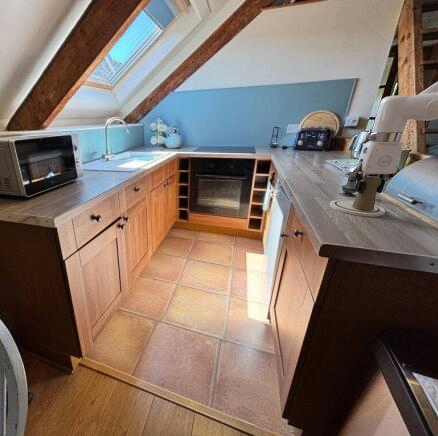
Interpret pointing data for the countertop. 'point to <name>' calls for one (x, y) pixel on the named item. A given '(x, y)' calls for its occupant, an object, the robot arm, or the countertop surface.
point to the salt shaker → (349, 186)
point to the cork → (367, 194)
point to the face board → (348, 208)
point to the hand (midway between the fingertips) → (367, 191)
